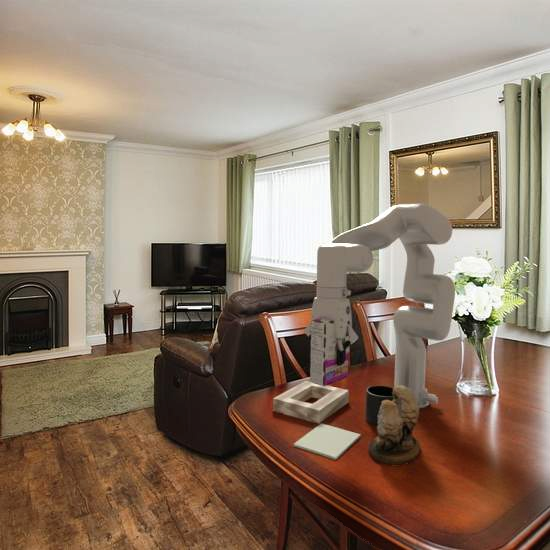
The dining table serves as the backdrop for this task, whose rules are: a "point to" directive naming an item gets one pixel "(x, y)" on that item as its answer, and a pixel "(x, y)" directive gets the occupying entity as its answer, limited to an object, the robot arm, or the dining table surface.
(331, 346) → the candy bar box
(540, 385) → the dining table surface
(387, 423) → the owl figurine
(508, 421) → the dining table surface
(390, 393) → the mug
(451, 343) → the dining table surface
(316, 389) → the board
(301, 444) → the mat
